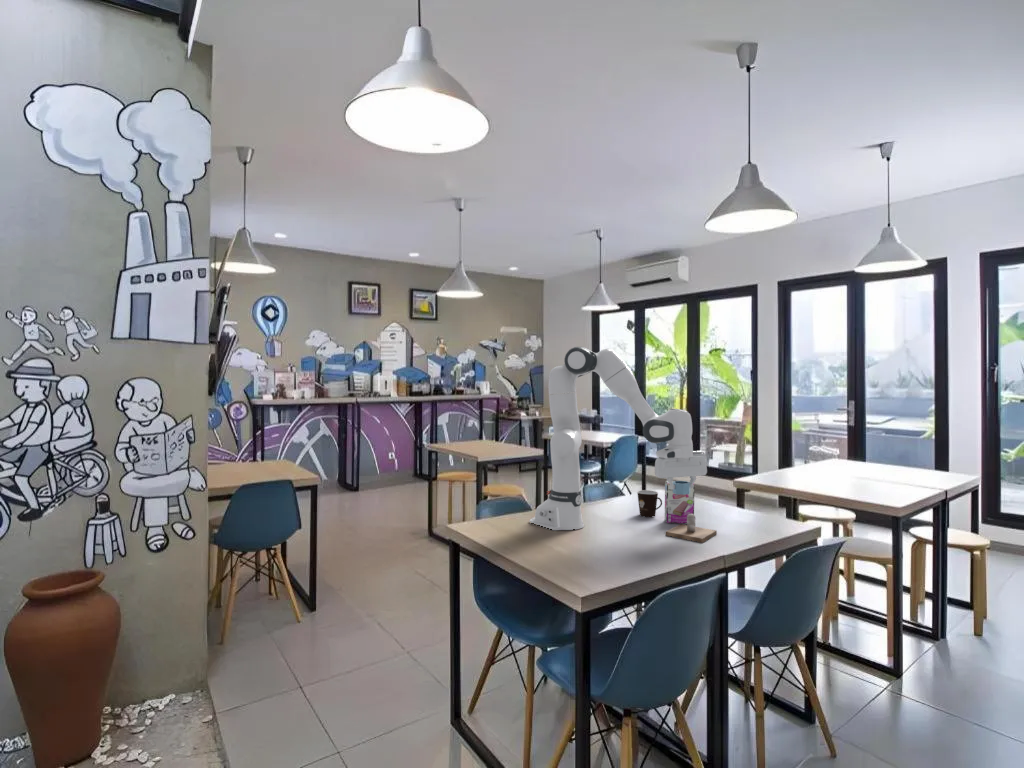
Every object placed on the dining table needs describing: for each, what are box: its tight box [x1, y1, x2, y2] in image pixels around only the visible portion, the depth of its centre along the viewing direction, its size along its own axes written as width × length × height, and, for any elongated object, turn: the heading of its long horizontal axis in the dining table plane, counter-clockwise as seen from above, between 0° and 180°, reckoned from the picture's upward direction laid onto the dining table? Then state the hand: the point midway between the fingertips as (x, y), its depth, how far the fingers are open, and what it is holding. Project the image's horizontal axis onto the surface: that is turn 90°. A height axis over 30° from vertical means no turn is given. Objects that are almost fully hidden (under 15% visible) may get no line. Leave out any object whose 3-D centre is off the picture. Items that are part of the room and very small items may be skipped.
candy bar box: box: [664, 480, 696, 524], centre depth 220 cm, size 11×5×16 cm, turn 84°
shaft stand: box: [665, 513, 718, 544], centre depth 201 cm, size 14×14×8 cm
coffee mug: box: [637, 489, 663, 518], centre depth 230 cm, size 12×9×10 cm
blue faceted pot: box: [672, 480, 691, 495], centre depth 202 cm, size 6×6×4 cm
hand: (681, 488), depth 202 cm, fingers closed on blue faceted pot, 6 cm apart
